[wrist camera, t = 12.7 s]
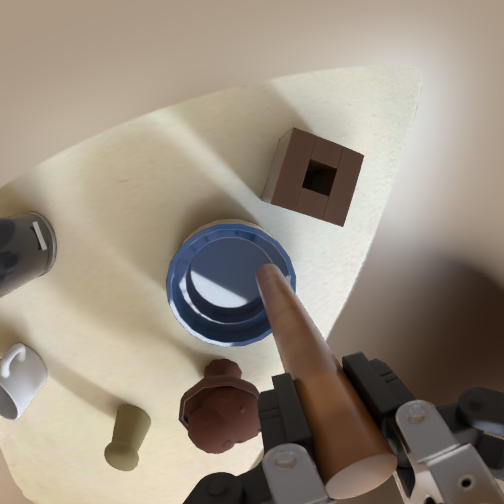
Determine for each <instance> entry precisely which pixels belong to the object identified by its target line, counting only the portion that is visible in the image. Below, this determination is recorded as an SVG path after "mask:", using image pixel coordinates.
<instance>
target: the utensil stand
mask: <svg viewBox="0 0 504 504" xmlns="http://www.w3.org/2000/svg"><path fill="white" fill-rule="evenodd" d="M363 158H364V155H362V154H360V153H358V152H356V151H353V150H351V149H348V148H346V147H343V146H341V145H339V144H336V143H334V142H331V141H329V140H326V139H323V138H321V137H318V136H316V135H313V134H310V133H308V132H305V131H302V130H299V129H296V128H293V129H292V130H290V131H289V132H288V133H287V134H286V135H285V136H283V137H282V138H281V139H280V140H279V143H278V146H277V150H276V153H275V156H274V159H273V163H272V166H271V169H270V172H269V176H268V179H267V182H266V185H265V189H264V192H263V195H262V199H261V201H264V202H267V203H270V204H273V205H277V206H280V207H283V208H286V209H289V210H293V211H296V212H299V213H302V214H305V215H308V216H311V217H314V218H317V219H320V220H323V221H326V222H329V223H332V224H335V225H338V226H341V227H343V226H344V223H345V220H346V216H347V213H348V210H349V207H350V203H351V200H352V197H353V193H354V190H355V186H356V183H357V180H358V176H359V172H360V169H361V165H362V162H363ZM307 169H308V170H311V171H314V172H315V175H314V178H313V181H312V184H311V188H310V190H309V189H306V188H303V187H302V184H303V181H304V178H305V175H306V171H307Z"/></svg>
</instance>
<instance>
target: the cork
mask: <svg viewBox="0 0 504 504" xmlns="http://www.w3.org/2000/svg"><path fill="white" fill-rule="evenodd" d="M150 425H151V419H150V417H149V415H148V414H147V413H146V412H145V411H143V410H142V409H140V408H138V407H135V406H130V405H126V406H122V407H120V408H119V409H118V411H117V416H116V421H115V426H114V431H113V437H112V443H109V444H108V446H107V447H106V448H105V454H104V456H105V459H106V461H107V462H108V463H109V464H110V465H111V466H112V467H114V468H116V469H118V470H122V471H130V470H133V469H134V468H135V467H136V466H137V465H138V460H139V457H138V453H137V452H138V450H139V448H140V446H141V444H142V442H143V440H144V437H145V435H146V433H147V431H148V429H149V427H150Z"/></svg>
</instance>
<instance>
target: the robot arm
mask: <svg viewBox="0 0 504 504" xmlns="http://www.w3.org/2000/svg"><path fill="white" fill-rule="evenodd" d="M56 251H57V246H56V238H55V234H54V232H53V229H52V227H51V225H50V224H49V222H48V221H47V220H46V219H45V218H44V217H43V216H42V215H40V214H38V213H36V212H25V213H22V214H18V215H13V216H8V217H3V218H0V298H2V297H3V296H5V295H7V294H8V293H10V292H12V291H14V290H15V289H17V288H19V287H20V286H22V285H24V284H26V283H28V282H29V281H31V280H33V279H35V278H37V277H39V276H42V275H44V274H45V273H47V272H48V271H49V270H50V269H51V267H52V265H53V263H54V261H55V258H56ZM342 364H343V370H344V372H345V373H346V375H347V377H348V378H349V380H350V381H351V383H352V385H353V386H354V388H355V389H356V391H357V393H358V394H359V396H360V398H361V399H362V401H363V402H364V404H365V406H366V407H367V409H368V411H369V412H370V414H371V415H372V417H373V419H374V420H375V422H376V424H377V425H378V427H379V429H380V430H381V432H382V434H383V435H384V437H385V438H386V440H387V442H388V443H389V445H390V447H391V448H392V450H393V452H394V453H395V455H396V457H397V460H398V463H397V467H396V469H395V471H394V472H393V475H394V477H395V480H396V482H397V485H398V488H399V490H400V493H401V495H402V498H403V501H404V504H504V493H503V492H502V490H501V489H500V487H499V485H498V484H497V482H496V480H495V479H494V478H496V479H500V480H503V481H504V440H502V439H499V438H496V437H493V436H489V435H486V434H484V431H486V432H489V433H492V434H495V435H499V436H502V437H504V393H501V392H498V391H494V390H491V389H487V388H483V387H472V388H469V389H467V390H465V391H464V392H463V393H461V395H460V397H459V400H458V402H457V403H452V404H448V405H444V406H439V407H434V405H432V404H431V403H429V402H427V401H423V400H417V399H416V398H415V397H414V396H413V394H412V393H411V392H410V391H409V390H408V389H407V387H406V386H405V385H404V384H403V383H402V381H401V380H400V379H398V377H397V376H396V375H395V373H393V371H392V370H391V369H390V367H389V366H388V365H387V364H386V363H384V362H382V361H380V360H377V359H374V360H371V361H368V360H367V358H366V357H365V356H364V354H363V353H362V352H361V351H360V352H356V353H353V354H350V355H347V356H345V357H343V358H342ZM272 381H273V385H274V389H272V390H268V391H264V392H261V393H260V395H259V397H258V400H257V407H258V414H259V420H260V427H261V433H262V439H263V445H264V456H263V459H262V461H261V462H260V463H259V464H258V465H257V466H256V467H255V468H253V469H252V470H250V471H248V472H245V473H243V474H241V475H239V476H234V475H232V474H230V473H226V472H217V473H212V474H209V475H207V476H205V477H204V478H202V479H201V480H200V481H199V482H198V483H197V485H196V486H195V488H194V489H193V490H192V492H191V493H190V494H189V496H188V497H187V499H186V500H185V501H184V503H183V504H337V503H336V502H335V500H334V499H331V498H330V496H329V495H328V493H327V491H326V489H325V487H324V485H323V483H322V481H321V479H320V476H319V474H318V472H317V470H316V467H315V464H314V461H313V453H314V446H313V440H312V435H311V432H310V429H309V426H308V423H307V420H306V418H305V415H304V412H303V409H302V406H301V403H300V400H299V397H298V394H297V392H296V389H295V386H294V383H293V380H292V377H291V374H290V372H288V373H284V374H280V375H276V376H272Z"/></svg>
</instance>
